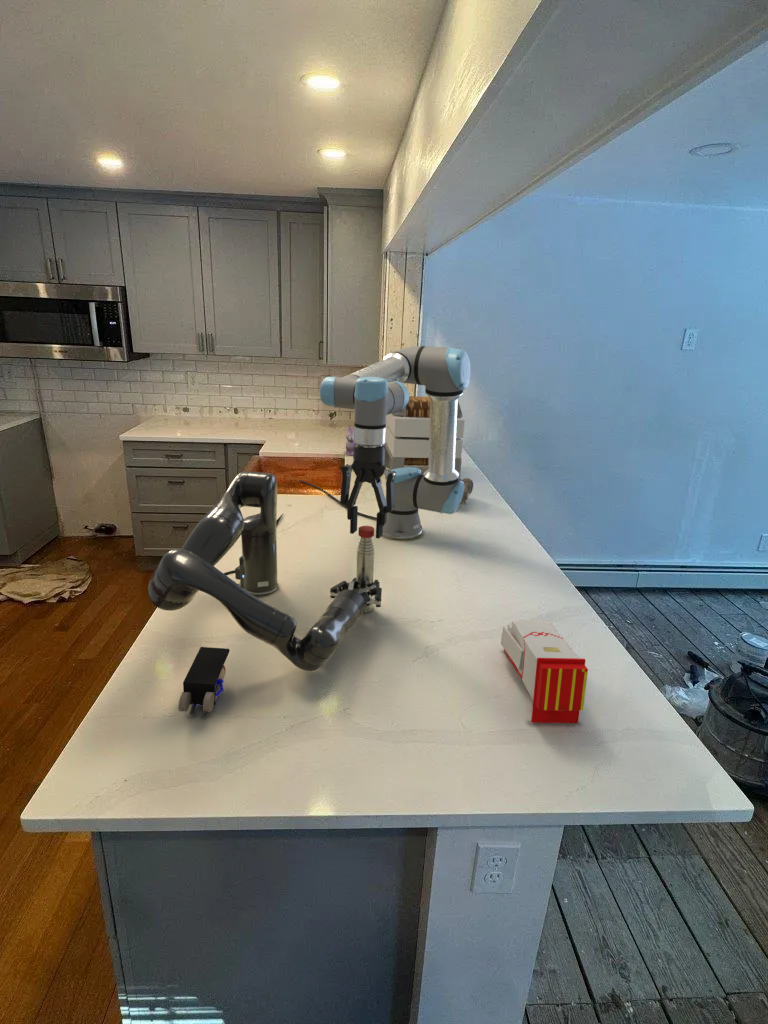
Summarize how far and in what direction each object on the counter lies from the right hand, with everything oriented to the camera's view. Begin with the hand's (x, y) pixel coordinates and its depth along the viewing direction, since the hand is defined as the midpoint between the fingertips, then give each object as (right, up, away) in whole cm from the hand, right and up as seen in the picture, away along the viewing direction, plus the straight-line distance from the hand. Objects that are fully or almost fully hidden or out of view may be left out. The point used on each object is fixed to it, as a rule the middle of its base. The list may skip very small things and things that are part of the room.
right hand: (366, 534), depth 142 cm
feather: (-34, +3, +68) cm, 76 cm away
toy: (+37, -31, -19) cm, 52 cm away
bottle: (-1, -20, +7) cm, 21 cm away
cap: (0, +1, 0) cm, 1 cm away
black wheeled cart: (-31, -32, -29) cm, 53 cm away
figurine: (-12, +37, +163) cm, 168 cm away
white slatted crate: (+22, +24, +133) cm, 137 cm away
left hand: (0, -13, +7) cm, 15 cm away
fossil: (+34, +9, +92) cm, 99 cm away
